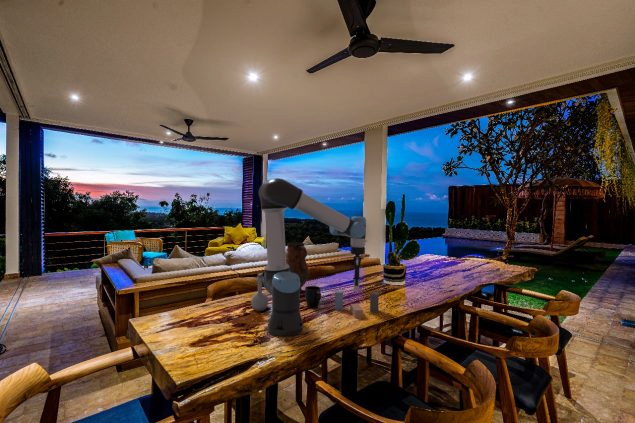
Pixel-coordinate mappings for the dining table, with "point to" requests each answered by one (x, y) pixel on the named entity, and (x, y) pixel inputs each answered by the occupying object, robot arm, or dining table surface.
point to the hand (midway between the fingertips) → (356, 291)
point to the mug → (312, 295)
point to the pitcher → (298, 261)
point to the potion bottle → (259, 296)
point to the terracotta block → (356, 310)
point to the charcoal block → (374, 302)
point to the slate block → (338, 300)
